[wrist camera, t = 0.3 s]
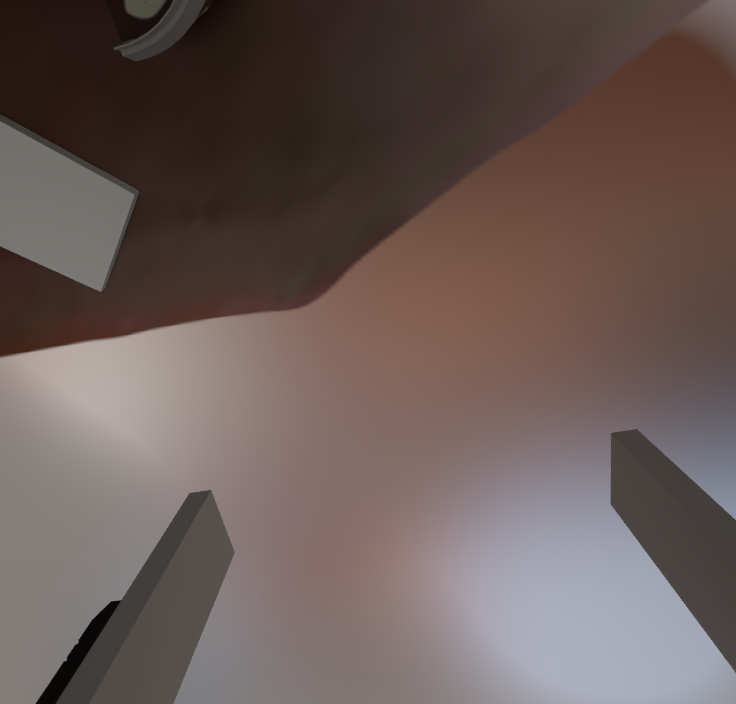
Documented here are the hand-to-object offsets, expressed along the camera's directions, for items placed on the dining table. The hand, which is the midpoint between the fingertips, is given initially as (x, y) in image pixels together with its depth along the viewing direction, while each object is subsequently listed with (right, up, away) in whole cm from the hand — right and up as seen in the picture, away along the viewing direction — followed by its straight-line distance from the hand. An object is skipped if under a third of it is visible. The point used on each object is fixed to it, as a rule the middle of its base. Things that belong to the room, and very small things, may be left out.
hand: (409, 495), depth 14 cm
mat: (-26, +16, +20) cm, 37 cm away
